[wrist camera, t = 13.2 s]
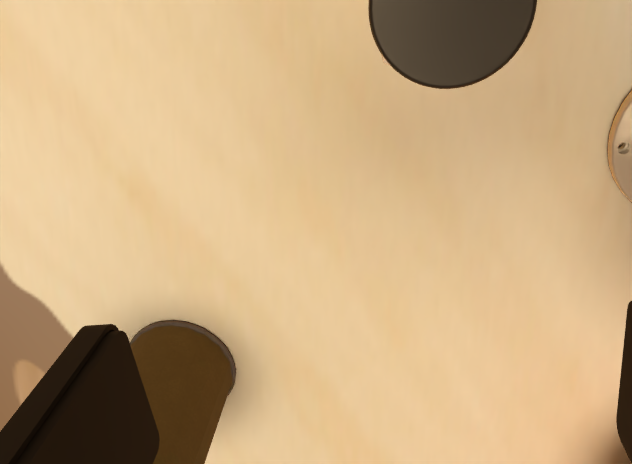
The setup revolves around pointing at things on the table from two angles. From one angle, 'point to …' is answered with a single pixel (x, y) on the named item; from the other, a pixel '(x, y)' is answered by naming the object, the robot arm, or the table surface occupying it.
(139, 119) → the table surface
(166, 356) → the canister
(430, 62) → the jar
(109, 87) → the table surface
